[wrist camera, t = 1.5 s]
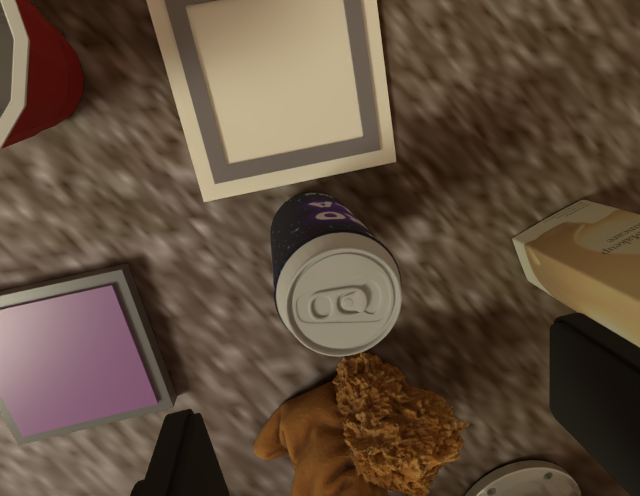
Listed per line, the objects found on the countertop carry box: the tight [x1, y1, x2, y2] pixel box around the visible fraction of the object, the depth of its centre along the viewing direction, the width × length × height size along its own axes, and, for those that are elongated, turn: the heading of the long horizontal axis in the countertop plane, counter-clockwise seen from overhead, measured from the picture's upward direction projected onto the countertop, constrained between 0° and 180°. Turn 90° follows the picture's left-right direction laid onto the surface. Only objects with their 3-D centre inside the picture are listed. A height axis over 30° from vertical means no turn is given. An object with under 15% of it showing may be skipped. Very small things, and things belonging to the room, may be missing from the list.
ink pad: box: [0, 263, 177, 445], centre depth 27 cm, size 11×11×2 cm
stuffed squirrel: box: [253, 352, 469, 496], centre depth 26 cm, size 10×14×13 cm
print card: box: [146, 0, 396, 202], centre depth 24 cm, size 13×13×1 cm
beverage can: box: [271, 192, 402, 356], centre depth 22 cm, size 6×6×12 cm
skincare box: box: [512, 200, 640, 347], centre depth 25 cm, size 6×4×12 cm
